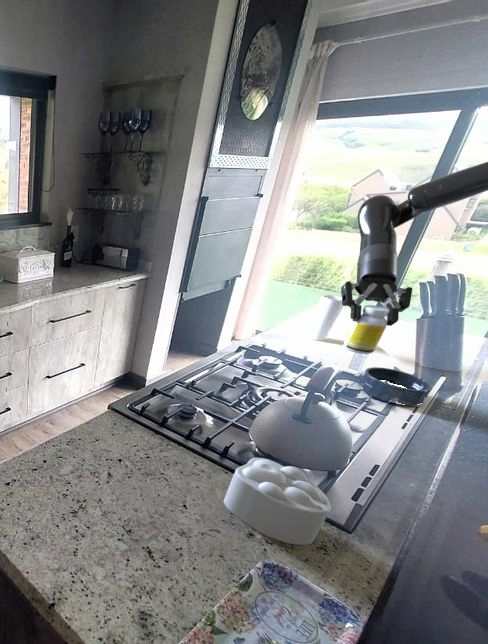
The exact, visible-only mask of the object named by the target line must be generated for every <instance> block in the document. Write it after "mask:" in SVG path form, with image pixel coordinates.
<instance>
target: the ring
mask: <svg viewBox="0 0 488 644" xmlns="http://www.w3.org/2000/svg"><path fill="white" fill-rule="evenodd" d="M360 379H361V380H360ZM360 379H359V381H360V383H359V382H358V383H359V386H361V387H362V388H363V390H364V391H365V392H364V391H363V390H362V391H363V392H364V393H365V394H367V395H369V396H371V397H373V396H374V397H373V398H375V397H376V398H375V399H377V398H378V399H377V400H380V399H381V400H380V401H383V400H384V401H383V402H386V401H387V403H389V402H388V401H390V400H391V399H393V398H397V399H398V400H397V401H398V403H401V404H405V405H404V406H406V405H417V404H420V403H423V402H424V403H425V401H426V400H427V398H428V397H429V395H430V393H431V391H432V390H433V386H432V384H431V383H429V381H427V380H425V379H423V378H422V377H419V376H417V375H414V374H412V373H408V372H405V371H401V370H398V369H393V368H387V367H379V366H378V367H375V366H373V367H367V368H366V369H365V370H364V372H363V373H362V376H361V378H360ZM380 380H387V381H389V382H390V383H393V384H397V385H402V386H404V387H406V388H407V389H406V388H401V387H397V386H394V385H390V384H387V383H384V382H382V381H380ZM359 386H358V387H359ZM424 403H423V404H424Z"/></svg>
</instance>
